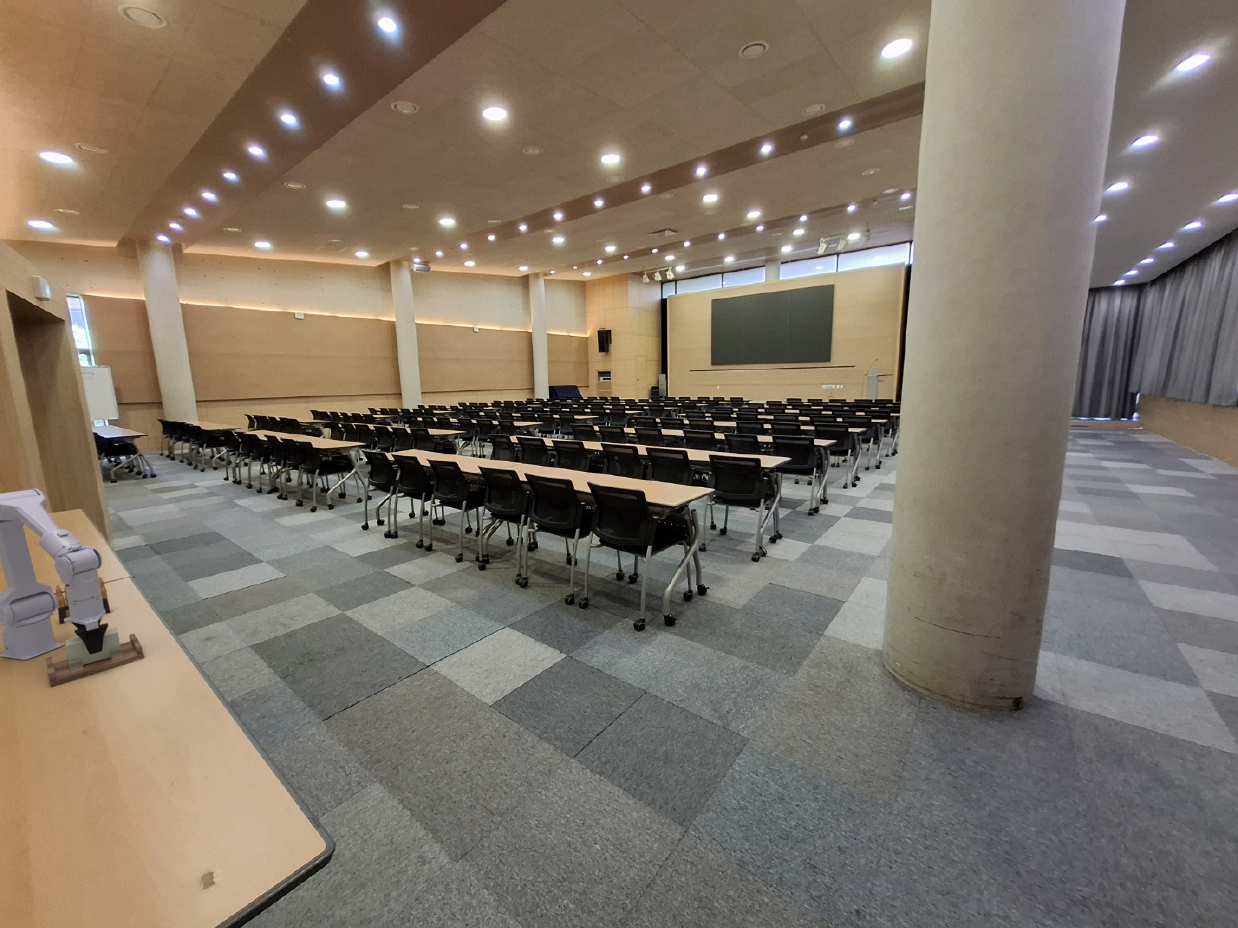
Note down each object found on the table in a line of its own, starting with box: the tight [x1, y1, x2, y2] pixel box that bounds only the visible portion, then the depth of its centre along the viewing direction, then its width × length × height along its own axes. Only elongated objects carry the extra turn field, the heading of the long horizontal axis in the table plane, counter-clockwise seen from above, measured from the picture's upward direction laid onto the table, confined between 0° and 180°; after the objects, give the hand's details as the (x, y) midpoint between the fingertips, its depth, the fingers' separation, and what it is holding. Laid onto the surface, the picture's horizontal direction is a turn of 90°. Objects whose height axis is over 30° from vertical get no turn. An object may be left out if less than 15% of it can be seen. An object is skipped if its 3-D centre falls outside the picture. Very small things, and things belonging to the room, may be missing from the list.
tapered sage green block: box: [65, 627, 121, 667], centre depth 125 cm, size 4×9×6 cm, turn 137°
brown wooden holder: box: [45, 633, 145, 688], centre depth 125 cm, size 12×16×4 cm
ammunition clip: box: [55, 576, 112, 625], centre depth 151 cm, size 11×2×12 cm, turn 136°
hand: (93, 647), depth 125 cm, fingers open, 7 cm apart
